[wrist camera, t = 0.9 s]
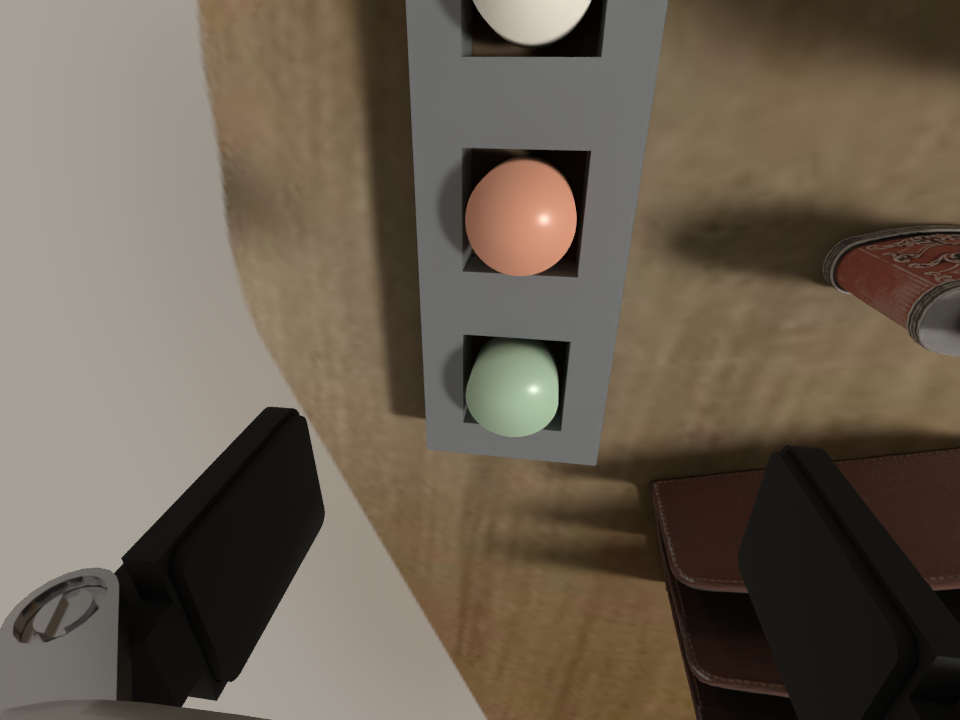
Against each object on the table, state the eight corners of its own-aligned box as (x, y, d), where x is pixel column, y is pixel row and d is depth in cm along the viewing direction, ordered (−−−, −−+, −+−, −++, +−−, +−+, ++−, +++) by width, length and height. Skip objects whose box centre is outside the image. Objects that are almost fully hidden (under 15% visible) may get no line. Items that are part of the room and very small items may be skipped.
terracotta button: (475, 154, 23) (465, 161, 20) (579, 157, 22) (582, 164, 20) (474, 255, 25) (465, 273, 23) (569, 260, 25) (571, 278, 22)
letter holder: (984, 561, 32) (1258, 855, 19) (663, 580, 36) (718, 826, 24) (1014, 437, 28) (1388, 709, 15) (647, 477, 32) (704, 709, 20)
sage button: (474, 330, 27) (465, 354, 25) (561, 336, 27) (562, 361, 24) (473, 403, 29) (465, 432, 27) (554, 410, 29) (554, 441, 26)
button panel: (417, -171, 19) (395, -215, 17) (682, -185, 18) (704, -235, 15) (437, 421, 32) (427, 449, 30) (592, 435, 31) (596, 465, 28)
